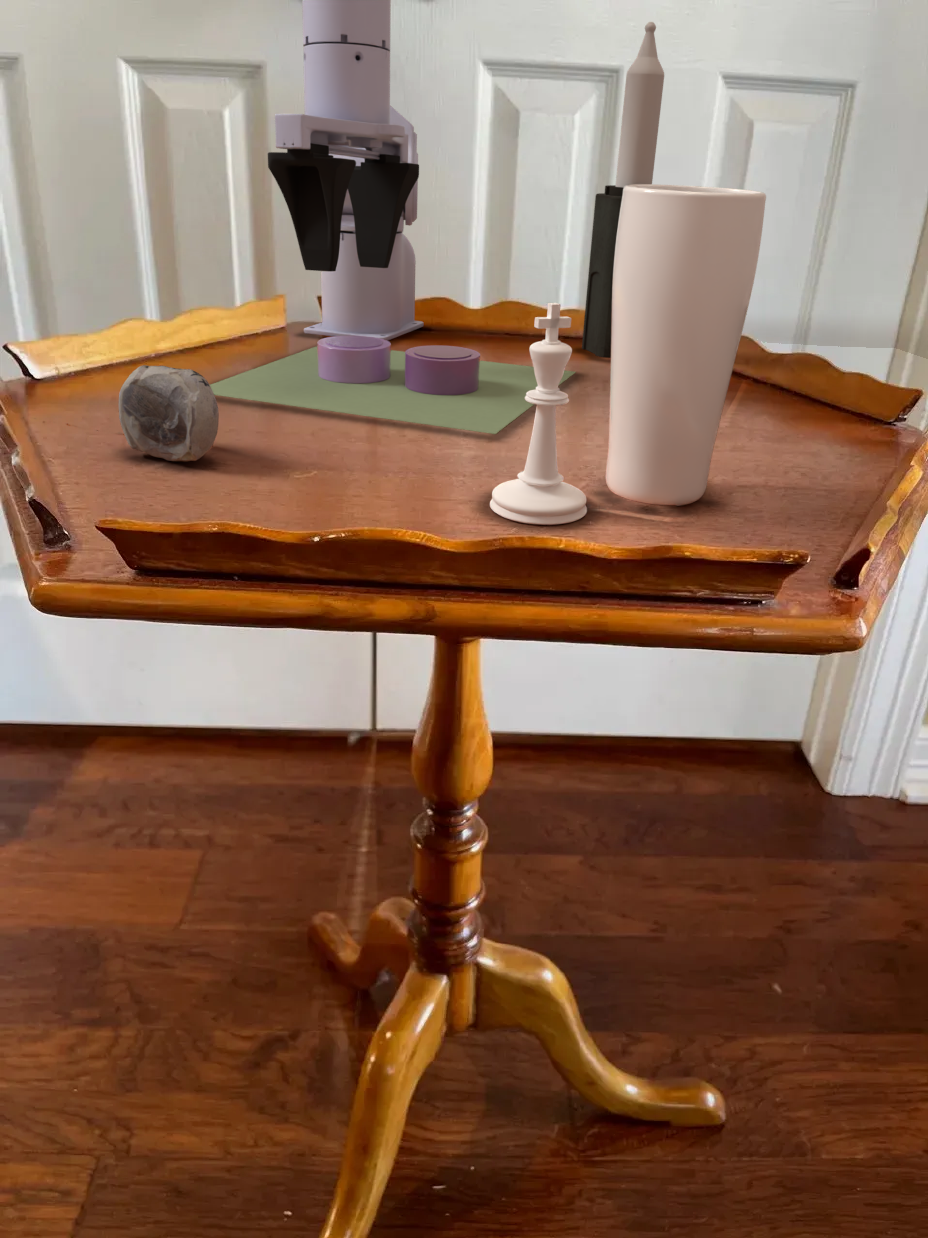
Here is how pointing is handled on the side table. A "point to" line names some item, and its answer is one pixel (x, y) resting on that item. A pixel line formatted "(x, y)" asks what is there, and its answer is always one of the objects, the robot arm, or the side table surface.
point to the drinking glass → (676, 332)
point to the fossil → (168, 412)
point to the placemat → (389, 393)
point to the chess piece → (543, 441)
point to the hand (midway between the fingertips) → (348, 268)
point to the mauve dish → (442, 370)
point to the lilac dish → (354, 359)
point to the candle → (631, 169)
